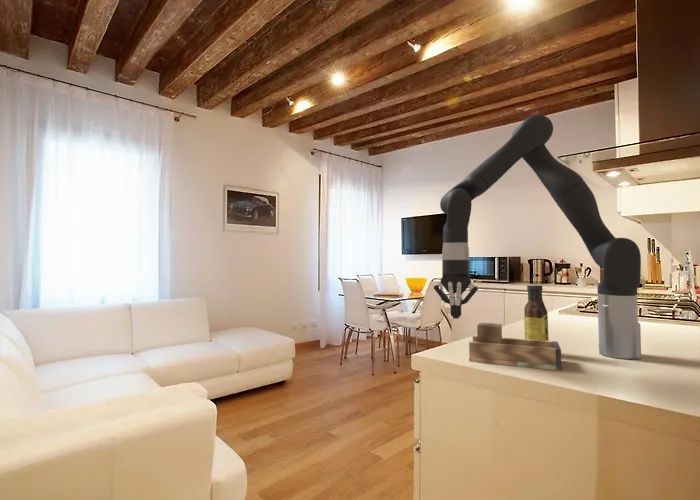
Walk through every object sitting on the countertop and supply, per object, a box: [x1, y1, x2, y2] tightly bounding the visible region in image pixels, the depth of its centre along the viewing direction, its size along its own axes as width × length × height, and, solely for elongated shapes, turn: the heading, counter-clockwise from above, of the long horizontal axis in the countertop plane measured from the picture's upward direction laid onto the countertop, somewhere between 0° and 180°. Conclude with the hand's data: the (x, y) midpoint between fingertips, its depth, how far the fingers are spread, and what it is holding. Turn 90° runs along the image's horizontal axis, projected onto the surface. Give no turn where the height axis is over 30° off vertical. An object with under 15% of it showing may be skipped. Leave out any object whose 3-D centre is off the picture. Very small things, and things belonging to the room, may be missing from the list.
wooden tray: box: [468, 335, 562, 371], centre depth 102 cm, size 22×11×5 cm, turn 65°
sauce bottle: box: [523, 284, 550, 341], centre depth 110 cm, size 6×6×20 cm
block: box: [476, 322, 503, 344], centre depth 105 cm, size 6×6×8 cm
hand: (455, 318), depth 109 cm, fingers closed
